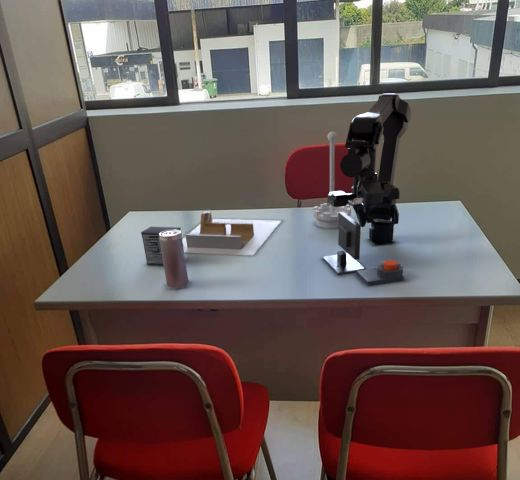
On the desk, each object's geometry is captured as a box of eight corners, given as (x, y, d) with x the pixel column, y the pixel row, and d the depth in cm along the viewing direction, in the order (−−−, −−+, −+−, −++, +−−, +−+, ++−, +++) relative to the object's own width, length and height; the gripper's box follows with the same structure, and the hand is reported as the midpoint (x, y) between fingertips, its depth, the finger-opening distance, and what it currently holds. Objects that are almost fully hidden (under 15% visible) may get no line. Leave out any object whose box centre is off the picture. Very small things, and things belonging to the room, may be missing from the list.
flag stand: (353, 227, 177) (355, 133, 162) (314, 230, 178) (313, 136, 162) (348, 216, 188) (350, 127, 173) (312, 218, 189) (310, 130, 173)
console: (393, 269, 144) (393, 259, 143) (406, 280, 137) (407, 269, 136) (356, 274, 143) (356, 264, 141) (368, 286, 136) (368, 275, 134)
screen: (343, 244, 153) (343, 212, 148) (359, 259, 142) (361, 225, 137) (334, 245, 153) (334, 213, 148) (350, 260, 142) (351, 226, 137)
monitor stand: (348, 255, 155) (348, 243, 153) (365, 271, 144) (365, 258, 142) (322, 259, 154) (322, 246, 152) (337, 275, 143) (337, 262, 141)
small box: (186, 259, 161) (181, 226, 156) (177, 267, 156) (171, 233, 151) (156, 257, 165) (150, 225, 159) (146, 265, 159) (140, 232, 154)
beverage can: (168, 281, 147) (159, 230, 139) (189, 279, 147) (181, 228, 140) (166, 290, 142) (157, 237, 134) (188, 288, 142) (180, 235, 134)
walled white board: (166, 251, 169) (163, 229, 165) (206, 218, 197) (204, 198, 193) (252, 255, 161) (250, 231, 157) (281, 220, 189) (280, 199, 185)
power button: (393, 265, 140) (394, 259, 139) (399, 270, 137) (400, 263, 136) (381, 267, 139) (381, 261, 139) (386, 272, 136) (387, 265, 136)
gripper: (341, 179, 128) (340, 240, 136) (411, 170, 131) (406, 230, 139) (326, 170, 138) (326, 227, 146) (392, 162, 141) (389, 219, 149)
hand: (362, 226), depth 145 cm, fingers closed
